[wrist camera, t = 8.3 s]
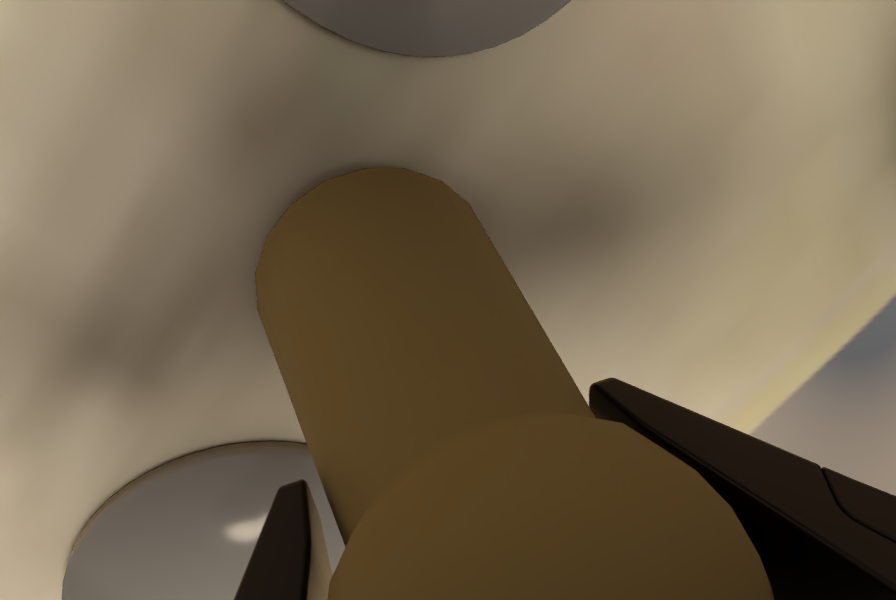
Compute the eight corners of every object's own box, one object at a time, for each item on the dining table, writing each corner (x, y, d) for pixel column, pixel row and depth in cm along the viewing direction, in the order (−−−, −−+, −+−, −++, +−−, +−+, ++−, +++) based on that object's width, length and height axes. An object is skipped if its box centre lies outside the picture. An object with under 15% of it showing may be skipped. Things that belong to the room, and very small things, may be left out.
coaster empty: (367, 398, 17) (371, 412, 17) (418, 594, 22) (422, 608, 22) (-5, 514, 15) (-13, 532, 14) (147, 699, 20) (145, 718, 20)
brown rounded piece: (326, 418, 16) (450, 1004, 7) (201, 240, 13) (116, 923, 4) (517, 319, 16) (871, 743, 7) (445, 122, 13) (932, 453, 4)
